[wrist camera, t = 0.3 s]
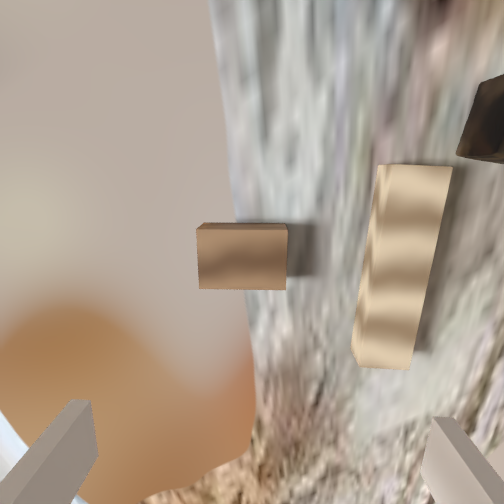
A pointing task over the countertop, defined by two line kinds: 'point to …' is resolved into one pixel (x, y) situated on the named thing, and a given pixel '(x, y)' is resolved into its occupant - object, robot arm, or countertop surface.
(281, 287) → the block
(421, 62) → the countertop surface
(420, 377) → the countertop surface
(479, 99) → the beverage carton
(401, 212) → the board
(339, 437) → the countertop surface
